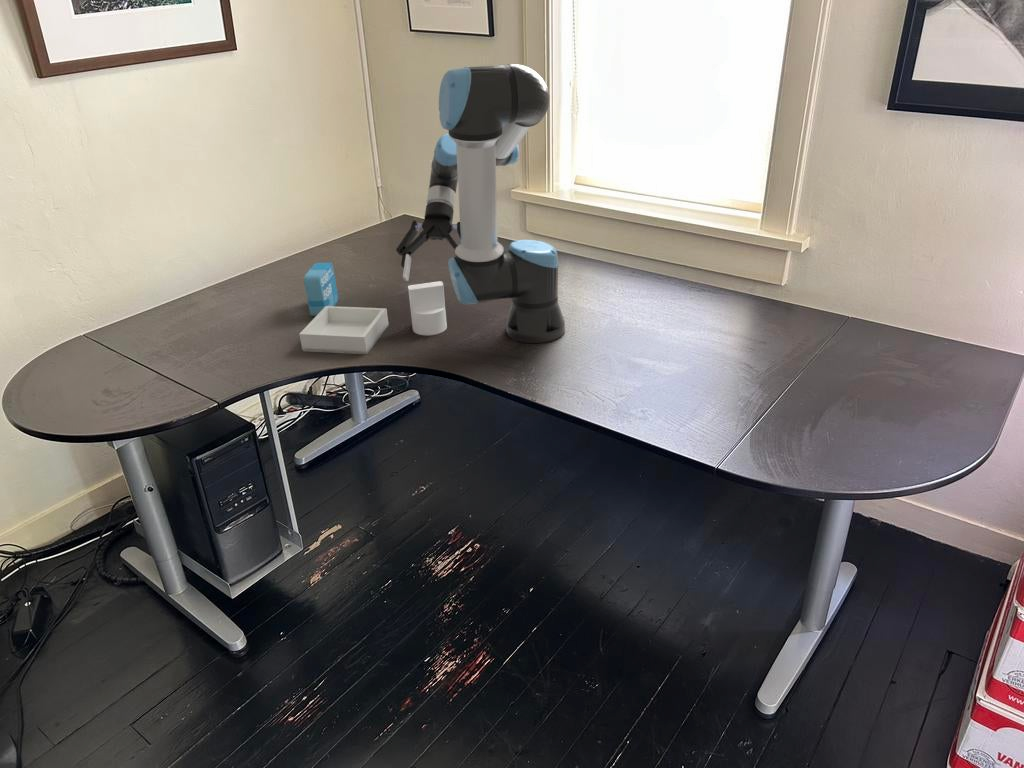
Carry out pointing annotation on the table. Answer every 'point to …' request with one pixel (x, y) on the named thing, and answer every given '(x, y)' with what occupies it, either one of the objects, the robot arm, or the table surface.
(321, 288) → the data package
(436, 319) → the base with upright slab
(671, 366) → the table surface
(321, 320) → the bin
